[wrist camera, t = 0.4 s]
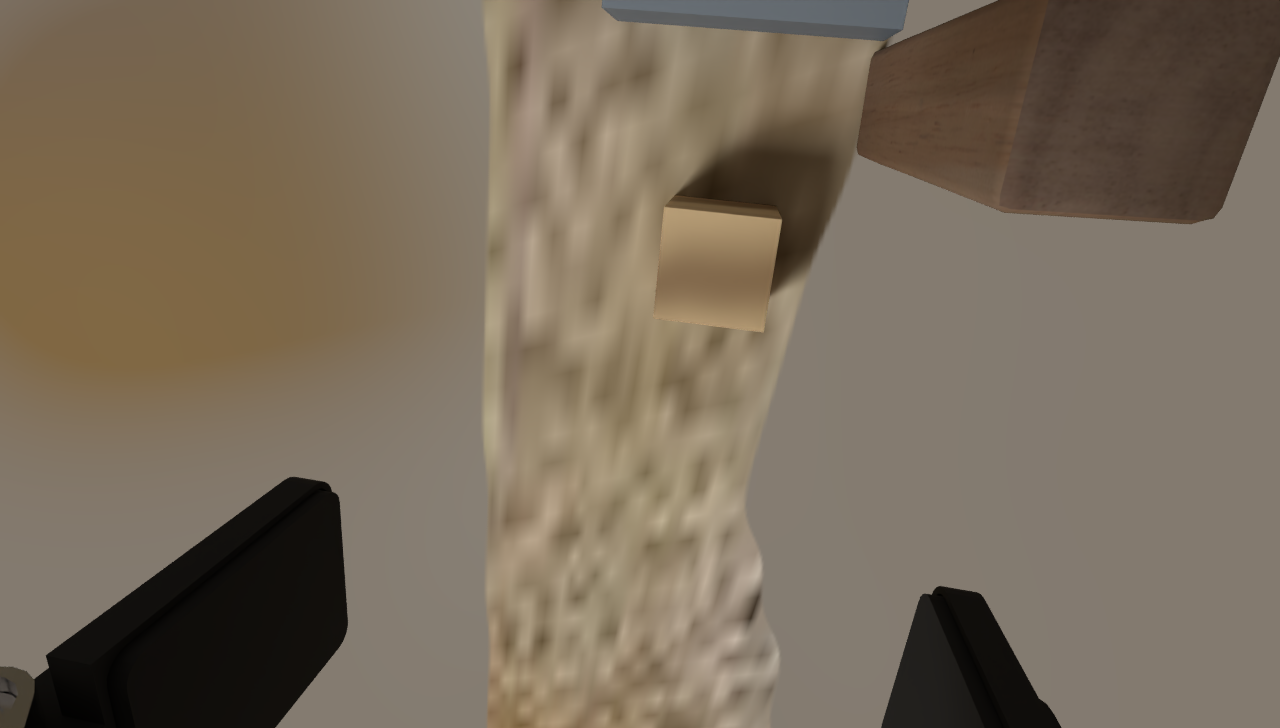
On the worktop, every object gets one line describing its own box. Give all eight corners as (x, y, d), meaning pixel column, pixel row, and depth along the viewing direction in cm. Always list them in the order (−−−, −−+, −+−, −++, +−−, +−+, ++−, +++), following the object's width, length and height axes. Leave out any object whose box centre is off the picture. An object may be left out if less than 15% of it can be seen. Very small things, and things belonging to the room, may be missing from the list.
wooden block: (1088, 57, 27) (1622, -22, 11) (1057, 167, 29) (1477, 244, 12) (870, 50, 28) (1052, -32, 12) (853, 156, 30) (991, 214, 14)
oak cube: (675, 195, 32) (664, 207, 27) (775, 205, 31) (782, 219, 27) (665, 291, 34) (653, 318, 29) (760, 303, 33) (763, 332, 29)
